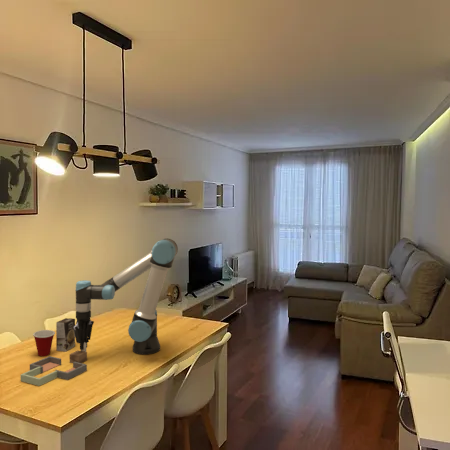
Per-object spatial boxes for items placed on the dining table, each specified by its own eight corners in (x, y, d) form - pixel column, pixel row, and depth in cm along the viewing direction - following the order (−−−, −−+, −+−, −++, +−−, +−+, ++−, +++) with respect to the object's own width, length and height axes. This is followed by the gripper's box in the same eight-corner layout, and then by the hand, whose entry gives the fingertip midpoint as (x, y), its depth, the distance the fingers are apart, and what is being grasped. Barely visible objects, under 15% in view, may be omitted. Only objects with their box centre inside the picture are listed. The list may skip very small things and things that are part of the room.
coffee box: (66, 351, 218) (66, 322, 218) (55, 350, 220) (55, 322, 219) (75, 346, 227) (75, 318, 227) (65, 345, 228) (65, 317, 228)
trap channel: (86, 370, 193) (86, 364, 193) (49, 388, 173) (49, 382, 173) (49, 361, 204) (49, 356, 204) (10, 378, 184) (10, 371, 184)
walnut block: (87, 360, 206) (86, 351, 206) (78, 364, 201) (78, 355, 201) (77, 358, 209) (77, 350, 208) (69, 362, 203) (69, 354, 203)
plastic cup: (41, 359, 206) (40, 337, 206) (29, 355, 212) (28, 333, 212) (59, 353, 215) (59, 331, 215) (47, 349, 221) (47, 328, 221)
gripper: (87, 306, 215) (87, 349, 216) (68, 312, 203) (68, 357, 204) (97, 308, 211) (97, 352, 212) (79, 314, 200) (79, 360, 201)
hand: (83, 354), depth 208 cm, fingers closed
